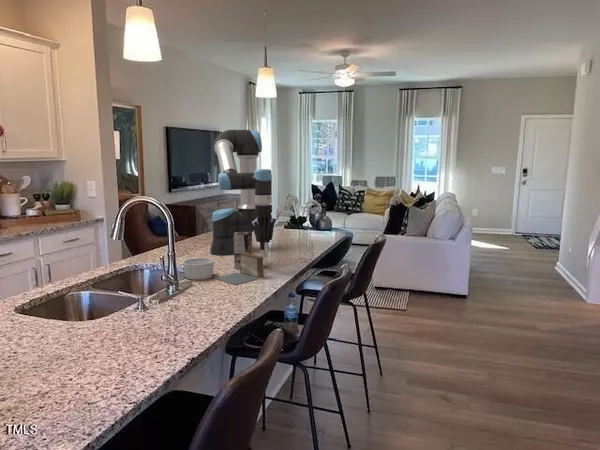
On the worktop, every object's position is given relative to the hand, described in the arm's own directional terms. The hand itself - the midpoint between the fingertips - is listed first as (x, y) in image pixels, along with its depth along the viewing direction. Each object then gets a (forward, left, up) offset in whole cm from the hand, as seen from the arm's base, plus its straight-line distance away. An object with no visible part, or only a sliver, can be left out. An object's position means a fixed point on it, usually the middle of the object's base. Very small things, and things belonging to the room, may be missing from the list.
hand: (264, 256), depth 201 cm
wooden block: (+8, 0, -7) cm, 10 cm away
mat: (+16, 0, -7) cm, 18 cm away
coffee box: (+1, -14, -7) cm, 16 cm away
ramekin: (+25, -15, -7) cm, 30 cm away
